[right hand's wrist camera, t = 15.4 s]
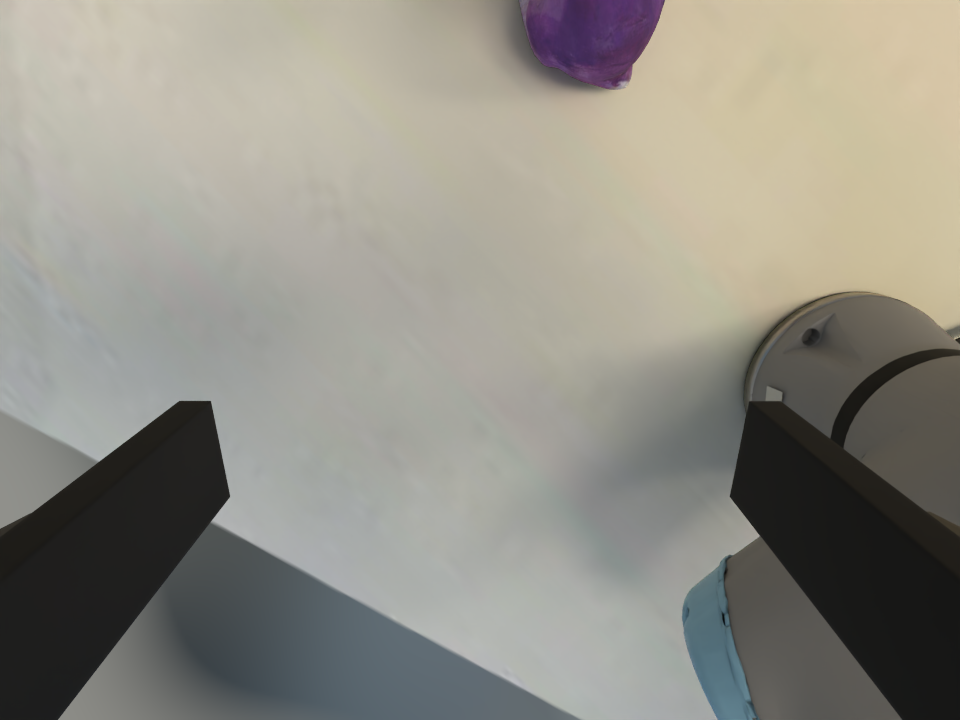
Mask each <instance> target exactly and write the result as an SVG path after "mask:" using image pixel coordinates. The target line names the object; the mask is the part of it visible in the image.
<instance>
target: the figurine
mask: <svg viewBox="0 0 960 720" xmlns="http://www.w3.org/2000/svg"><path fill="white" fill-rule="evenodd" d="M664 2H665V0H519V3H520V8H521V13H522V18H523V22H524V25H525V29H526V33H527V37H528V39H529V43H530V46H531V48H532V50H533V52H534V55H535V56H536V57H537V58H538V59H539V61H540V62H541V63H542V64H543V65H545V66H548V67H556V68H558V69H560V70H562V71H564V72H565V73H567V74H568V75H570V76H571V77H573V78H575V79H577V80H580V81H582V82H585V83H589V84H592V85H595V86H599V87H602V88H606V89H612V90H616V89H622V88H625V87H626V86H627V85H628V83H629V81H630V79H631V75H632V64H633V63H634V62H635V61H636V60H637V59H638V58H639V56H640V55H641V53H642V52H643V50H644V49H645V47H646V45H647V44H648V42H649V40H650V38H651V36H652V34H653V32H654V30H655V28H656V25H657V23H658V21H659V18H660V14H661V11H662V8H663V5H664Z"/></svg>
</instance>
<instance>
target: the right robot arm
mask: <svg viewBox="0 0 960 720" xmlns="http://www.w3.org/2000/svg"><path fill="white" fill-rule="evenodd" d="M744 405H745V410H746V419H745V424H744V429H743V434H742V439H741V444H740V449H739V454H738V459H737V464H736V469H735V474H734V479H733V484H732V489H731V494H730V497H731V499H732V500H733V501H734V503H735V504H736V505H737V506H738V508H739V509H740V510H741V512H742V513H743V514H744V516H745V517H746V518H747V519H748V521H749V522H750V523H751V525H752V526H753V527H754V528H755V530H756V531H757V532H758V534H759V535H760V537H759V538H757V539H756V540H755V541H753V542H752V543H750V544H749V545H748V546H746V547H745V548H743V549H742V550H741V551H739V552H738V553H736V554H735V555H734V556H732V555H728V556H726V557H725V558H724V559H723V560H722V561H721V562H720V565H719V567H718V568H716V569H715V570H714V571H713V572H711V573H710V574H709V575H708V576H706V577H705V578H704V579H703V580H702V581H700V582H699V583H698V584H697V585H695V586H694V587H693V588H692V589H691V590H690V591H689V593H688V594H687V596H686V599H685V601H684V604H683V613H682V621H683V627H684V636H685V641H686V645H687V649H688V652H689V655H690V658H691V661H692V664H693V667H694V669H695V672H696V674H697V677H698V679H699V682H700V684H701V686H702V688H703V691H704V693H705V695H706V697H707V699H708V701H709V703H710V705H711V707H712V709H713V711H714V713H715V715H716V717H717V719H718V720H960V338H958V339H955V340H954V339H953V338H952V337H951V336H950V335H949V334H948V333H947V332H945V331H944V330H943V329H942V328H941V327H940V326H938V325H937V324H936V323H935V322H934V321H933V320H932V319H931V318H930V317H929V316H928V315H926V314H925V313H923V312H922V311H920V310H919V309H917V308H915V307H913V306H911V305H909V304H907V303H905V302H902V301H900V300H897V299H894V298H891V297H887V296H884V295H880V294H875V293H869V292H849V293H842V294H837V295H833V296H829V297H826V298H823V299H820V300H817V301H815V302H813V303H810V304H808V305H806V306H805V307H803V308H801V309H799V310H798V311H796V312H794V313H793V314H792V315H790V316H789V317H787V318H786V319H785V320H784V321H783V322H781V323H780V324H779V325H778V326H777V327H776V328H775V329H774V330H773V331H772V332H771V333H770V334H769V335H768V337H767V338H766V339H765V340H764V342H763V343H762V344H761V346H760V347H759V349H758V351H757V352H756V354H755V356H754V358H753V360H752V362H751V364H750V367H749V370H748V372H747V376H746V380H745V387H744ZM229 497H230V494H229V489H228V484H227V479H226V474H225V469H224V464H223V459H222V454H221V449H220V444H219V439H218V434H217V429H216V424H215V419H214V414H213V409H212V404H211V401H179V402H178V403H176V404H175V405H174V406H172V407H171V408H170V409H168V410H167V411H166V412H164V413H163V414H162V415H160V416H159V417H158V418H156V419H155V420H154V421H152V422H151V423H150V424H149V425H147V426H146V427H145V428H143V429H142V430H141V431H139V432H138V433H137V434H135V435H134V436H133V437H131V438H130V439H129V440H127V441H126V442H125V443H123V444H122V445H121V446H120V447H118V448H117V449H116V450H114V451H113V452H112V453H110V454H109V455H108V456H106V457H105V458H104V459H102V460H101V461H100V462H98V463H97V464H96V465H95V466H93V467H92V468H91V469H89V470H88V471H87V472H85V473H84V474H83V475H81V476H80V477H79V478H77V479H76V480H75V481H73V482H72V483H71V484H70V485H68V486H67V487H66V488H64V489H63V490H62V491H60V492H59V493H58V494H56V495H55V496H54V497H52V498H51V499H50V500H48V501H47V502H46V503H44V504H43V505H42V506H40V507H39V508H38V509H37V510H35V511H34V512H33V513H31V514H28V515H26V516H24V517H22V518H21V519H19V520H17V521H15V522H13V523H11V524H9V525H7V526H5V527H3V528H1V529H0V720H58V719H59V718H60V716H61V715H62V714H63V712H64V711H65V710H66V708H67V707H68V706H69V705H70V703H71V702H72V701H73V699H74V698H75V697H76V696H77V694H78V693H79V692H80V690H81V689H82V688H83V686H84V685H85V684H86V683H87V681H88V680H89V679H90V677H91V676H92V675H93V673H94V672H95V671H96V670H97V668H98V667H99V666H100V664H101V663H102V662H103V661H104V659H105V658H106V657H107V655H108V654H109V653H110V652H111V650H112V649H113V648H114V646H115V645H116V644H117V642H118V641H119V640H120V639H121V637H122V636H123V635H124V633H125V632H126V631H127V630H128V628H129V627H130V626H131V624H132V623H133V622H134V620H135V619H136V618H137V616H138V615H139V614H140V613H141V611H142V610H143V609H144V607H145V606H146V605H147V603H148V602H149V601H150V600H151V598H152V597H153V596H154V594H155V593H156V592H157V591H158V589H159V588H160V587H161V585H162V584H163V583H164V582H165V580H166V579H167V578H168V576H169V575H170V574H171V572H172V571H173V570H174V569H175V567H176V566H177V565H178V563H179V562H180V561H181V560H182V558H183V557H184V556H185V554H186V553H187V552H188V550H189V549H190V548H191V547H192V545H193V544H194V543H195V541H196V540H197V539H198V538H199V536H200V535H201V534H202V532H203V531H204V530H205V528H206V527H207V526H208V525H209V523H210V522H211V521H212V519H213V518H214V517H215V516H216V514H217V513H218V512H219V510H220V509H221V508H222V506H223V505H224V504H225V503H226V501H227V500H228V499H229Z"/></svg>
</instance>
